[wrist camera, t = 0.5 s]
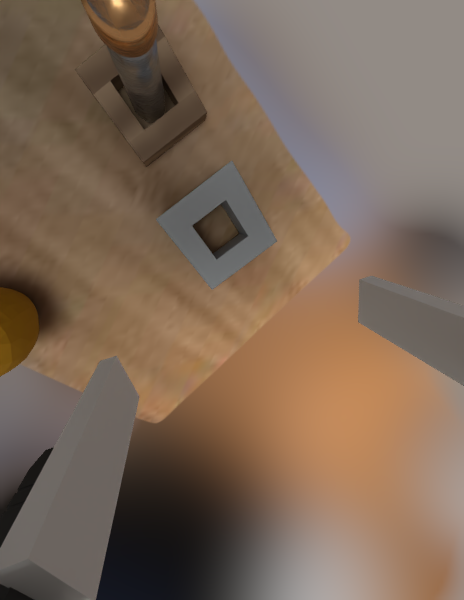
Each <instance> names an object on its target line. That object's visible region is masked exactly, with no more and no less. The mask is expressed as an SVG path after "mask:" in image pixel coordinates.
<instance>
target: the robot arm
mask: <svg viewBox="0 0 464 600" xmlns="http://www.w3.org/2000/svg"><path fill="white" fill-rule="evenodd" d="M358 322H359V323H361V324H362V325H364V326H366V327H367V328H369V329H370V330H372V331H374V332H375V333H377V334H379V335H380V336H382V337H384V338H386V339H387V340H389V341H390V342H392V343H394V344H395V345H397V346H399V347H400V348H402V349H404V350H405V351H407V352H409V353H410V354H412V355H413V356H415V357H417V358H418V359H420V360H422V361H424V362H425V363H427V364H428V365H430V366H432V367H433V368H435V369H437V370H438V371H440V372H442V373H443V374H445V375H447V376H448V377H450V378H452V379H453V380H455V381H457V382H458V383H460V384H461V385H463V386H464V306H463V305H461V304H457V303H454V302H451V301H448V300H445V299H442V298H439V297H436V296H433V295H430V294H426V293H423V292H420V291H417V290H414V289H411V288H408V287H405V286H402V285H399V284H395V283H392V282H389V281H386V280H383V279H380V278H377V277H374V276H370V277H367V278H363V279H360V280H359V315H358ZM138 401H139V395H138V393H137V391H136V390H135V388H134V386H133V384H132V382H131V381H130V379H129V377H128V375H127V373H126V372H125V370H124V368H123V366H122V365H121V363H120V361H119V359H118V357H117V356H115V357H111V358H108V359H105V360H102V361H100V362H99V364H98V366H97V368H96V370H95V372H94V373H93V375H92V377H91V379H90V381H89V383H88V385H87V387H86V388H85V390H84V392H83V394H82V396H81V398H80V400H79V402H78V403H77V405H76V407H75V409H74V411H73V413H72V415H71V417H70V418H69V420H68V422H67V424H66V426H65V428H64V430H63V431H62V434H61V436H60V437H59V439H58V441H57V443H56V445H55V446H54V448H51V449H48V450H45V452H44V453H43V454H42V455H41V456H40V457H39V458H38V460H37V461H36V462H35V463H34V465H33V466H32V467H31V468H30V469H29V471H28V472H27V474H26V476H25V477H24V479H23V481H22V483H21V484H20V486H19V488H18V492H17V493H15V495H14V496H13V498H12V500H11V501H10V503H9V505H8V506H7V511H5V512H4V513H3V515H2V517H1V518H0V600H96V596H97V591H98V586H99V582H100V577H101V572H102V567H103V563H104V558H105V553H106V549H107V545H108V540H109V535H110V531H111V526H112V521H113V516H114V512H115V507H116V503H117V498H118V493H119V489H120V484H121V479H122V475H123V470H124V466H125V461H126V456H127V451H128V447H129V442H130V437H131V433H132V428H133V424H134V419H135V415H136V410H137V405H138Z"/></svg>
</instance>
